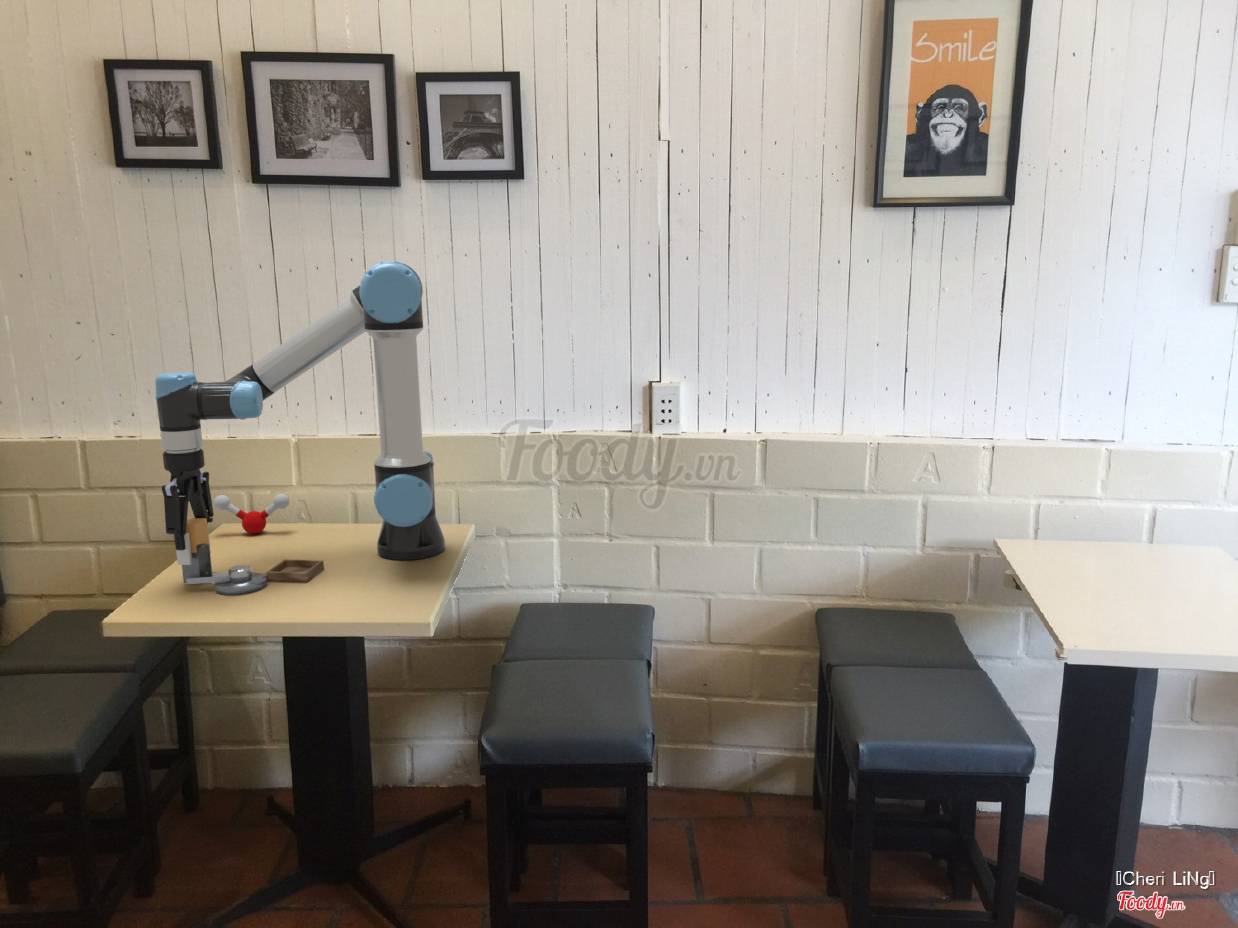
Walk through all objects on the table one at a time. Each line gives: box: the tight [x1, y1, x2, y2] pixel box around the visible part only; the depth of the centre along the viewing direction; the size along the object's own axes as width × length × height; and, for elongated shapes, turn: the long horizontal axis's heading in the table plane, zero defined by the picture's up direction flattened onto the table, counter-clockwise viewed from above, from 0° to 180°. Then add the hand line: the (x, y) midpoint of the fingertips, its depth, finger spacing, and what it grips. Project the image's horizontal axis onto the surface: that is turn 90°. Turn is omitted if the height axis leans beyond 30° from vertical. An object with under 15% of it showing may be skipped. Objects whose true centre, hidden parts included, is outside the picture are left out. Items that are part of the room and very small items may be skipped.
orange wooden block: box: [186, 517, 210, 553], centre depth 193 cm, size 4×4×6 cm
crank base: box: [211, 571, 268, 596], centre depth 192 cm, size 10×10×2 cm
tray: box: [265, 558, 325, 584], centre depth 198 cm, size 9×9×2 cm
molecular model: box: [213, 493, 290, 535], centre depth 228 cm, size 18×6×10 cm, turn 102°
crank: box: [186, 543, 253, 585], centre depth 190 cm, size 12×4×8 cm, turn 103°
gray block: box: [181, 553, 204, 585], centre depth 194 cm, size 4×3×7 cm
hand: (194, 558), depth 194 cm, fingers open, 6 cm apart
